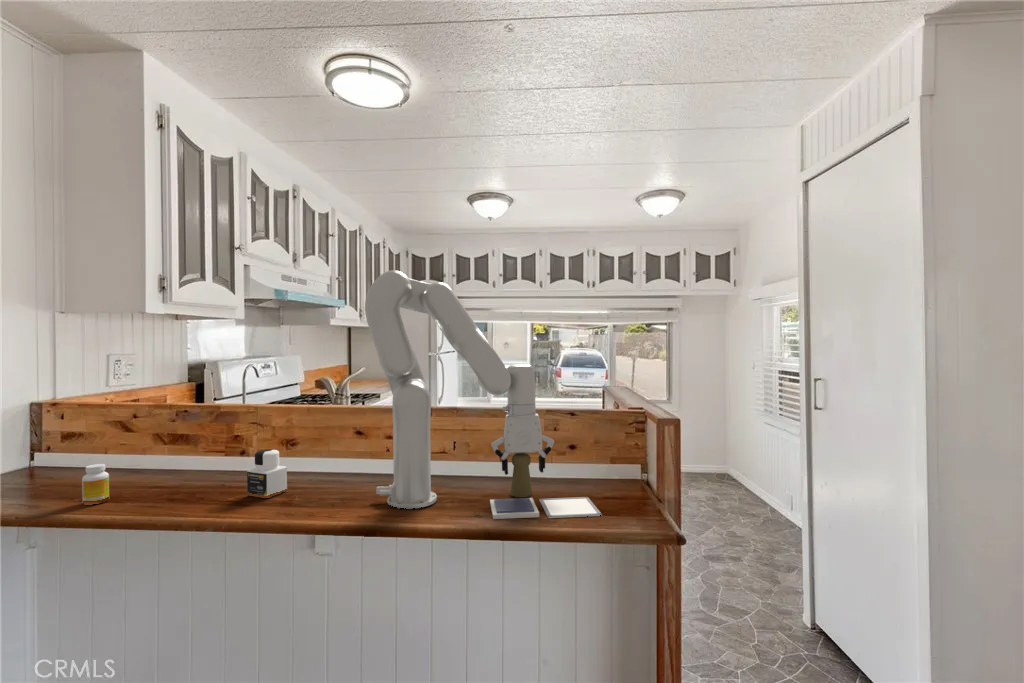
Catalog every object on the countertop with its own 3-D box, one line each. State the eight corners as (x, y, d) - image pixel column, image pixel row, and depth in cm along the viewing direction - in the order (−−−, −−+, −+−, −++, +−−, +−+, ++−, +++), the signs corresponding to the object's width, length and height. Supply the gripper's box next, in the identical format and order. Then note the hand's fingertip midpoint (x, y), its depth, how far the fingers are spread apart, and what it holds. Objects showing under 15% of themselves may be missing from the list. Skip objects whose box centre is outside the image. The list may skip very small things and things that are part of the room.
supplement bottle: (111, 502, 132) (110, 465, 132) (84, 507, 128) (83, 469, 128) (107, 497, 136) (106, 461, 136) (81, 502, 132) (80, 465, 132)
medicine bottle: (246, 496, 137) (246, 452, 137) (268, 489, 143) (268, 446, 143) (266, 499, 134) (265, 454, 134) (287, 491, 141) (287, 448, 141)
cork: (530, 497, 135) (530, 456, 134) (508, 496, 136) (508, 455, 136) (534, 491, 141) (533, 451, 140) (512, 489, 142) (512, 450, 142)
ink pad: (493, 519, 119) (493, 513, 119) (490, 503, 130) (490, 498, 130) (539, 517, 121) (539, 511, 121) (532, 501, 131) (532, 496, 131)
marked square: (548, 518, 120) (548, 516, 120) (539, 500, 133) (539, 498, 133) (601, 515, 121) (601, 514, 121) (587, 498, 134) (587, 496, 134)
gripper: (490, 413, 133) (493, 478, 134) (555, 410, 135) (557, 474, 135) (489, 409, 141) (491, 470, 141) (550, 406, 143) (552, 466, 143)
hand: (523, 472), depth 138 cm, fingers open, 9 cm apart
